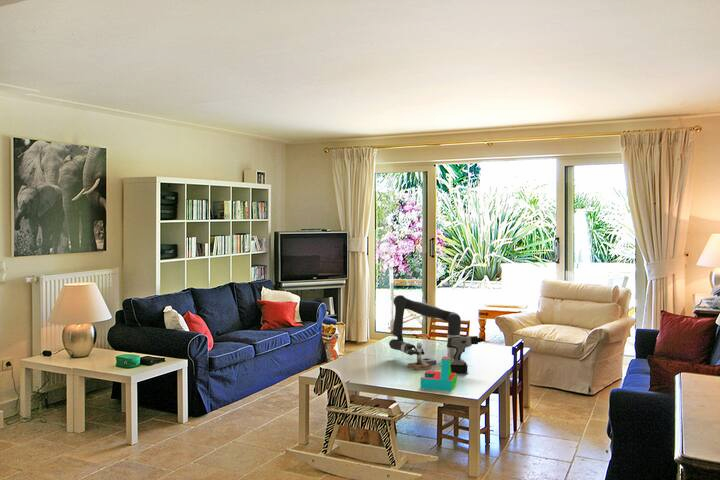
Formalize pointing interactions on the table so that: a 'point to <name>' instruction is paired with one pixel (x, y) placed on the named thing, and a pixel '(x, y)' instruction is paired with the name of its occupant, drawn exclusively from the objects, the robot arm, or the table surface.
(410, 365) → the rack block
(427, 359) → the grey flat square frame
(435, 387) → the building blocks toy
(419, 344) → the clear test tube
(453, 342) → the cordless drill
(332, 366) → the table surface
